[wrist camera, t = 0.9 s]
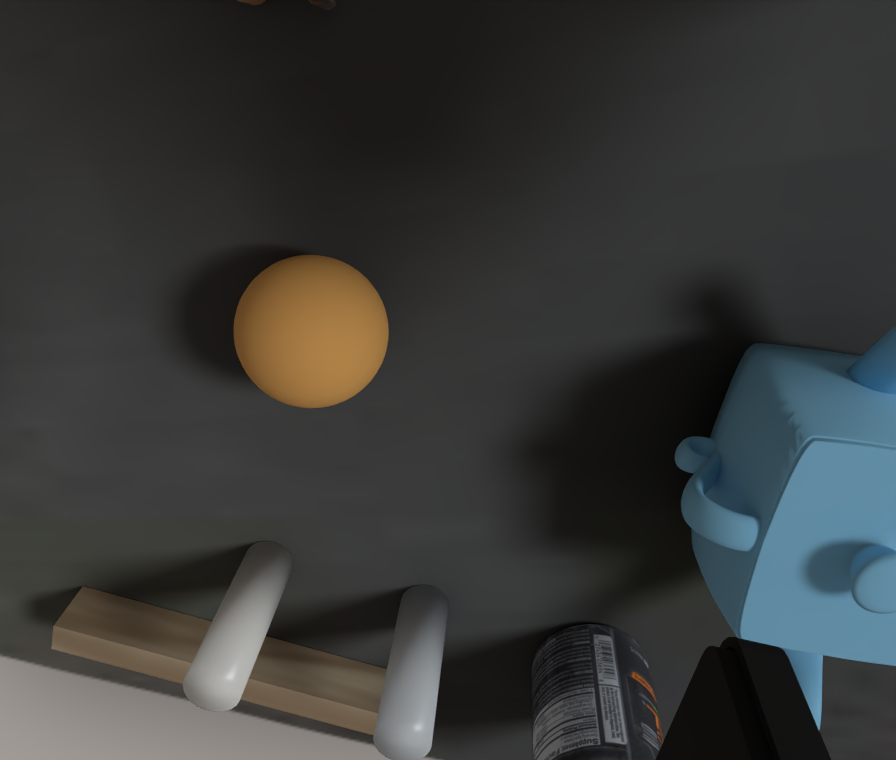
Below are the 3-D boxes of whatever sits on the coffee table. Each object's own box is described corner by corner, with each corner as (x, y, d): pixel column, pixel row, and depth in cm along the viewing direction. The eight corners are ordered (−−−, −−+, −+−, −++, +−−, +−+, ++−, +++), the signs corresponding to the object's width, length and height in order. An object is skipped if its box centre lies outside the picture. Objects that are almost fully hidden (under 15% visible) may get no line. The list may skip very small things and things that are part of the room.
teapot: (710, 221, 33) (780, 309, 24) (1067, 276, 33) (1274, 385, 24) (611, 584, 41) (636, 755, 32) (900, 631, 41) (1009, 816, 32)
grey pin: (407, 579, 42) (381, 712, 34) (454, 592, 42) (438, 728, 34) (395, 615, 43) (367, 753, 35) (441, 628, 43) (423, 768, 35)
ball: (272, 218, 35) (226, 261, 29) (413, 260, 35) (393, 310, 30) (247, 348, 37) (200, 409, 32) (379, 386, 37) (355, 453, 32)
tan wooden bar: (82, 586, 44) (53, 625, 41) (419, 677, 44) (412, 722, 42) (80, 608, 44) (51, 648, 42) (412, 698, 45) (405, 743, 42)
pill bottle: (652, 706, 44) (692, 924, 34) (538, 712, 45) (542, 927, 35) (644, 615, 42) (684, 819, 31) (524, 623, 42) (524, 826, 32)
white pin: (249, 535, 41) (187, 660, 34) (297, 548, 42) (245, 676, 34) (241, 573, 42) (179, 702, 35) (287, 586, 43) (235, 718, 35)
